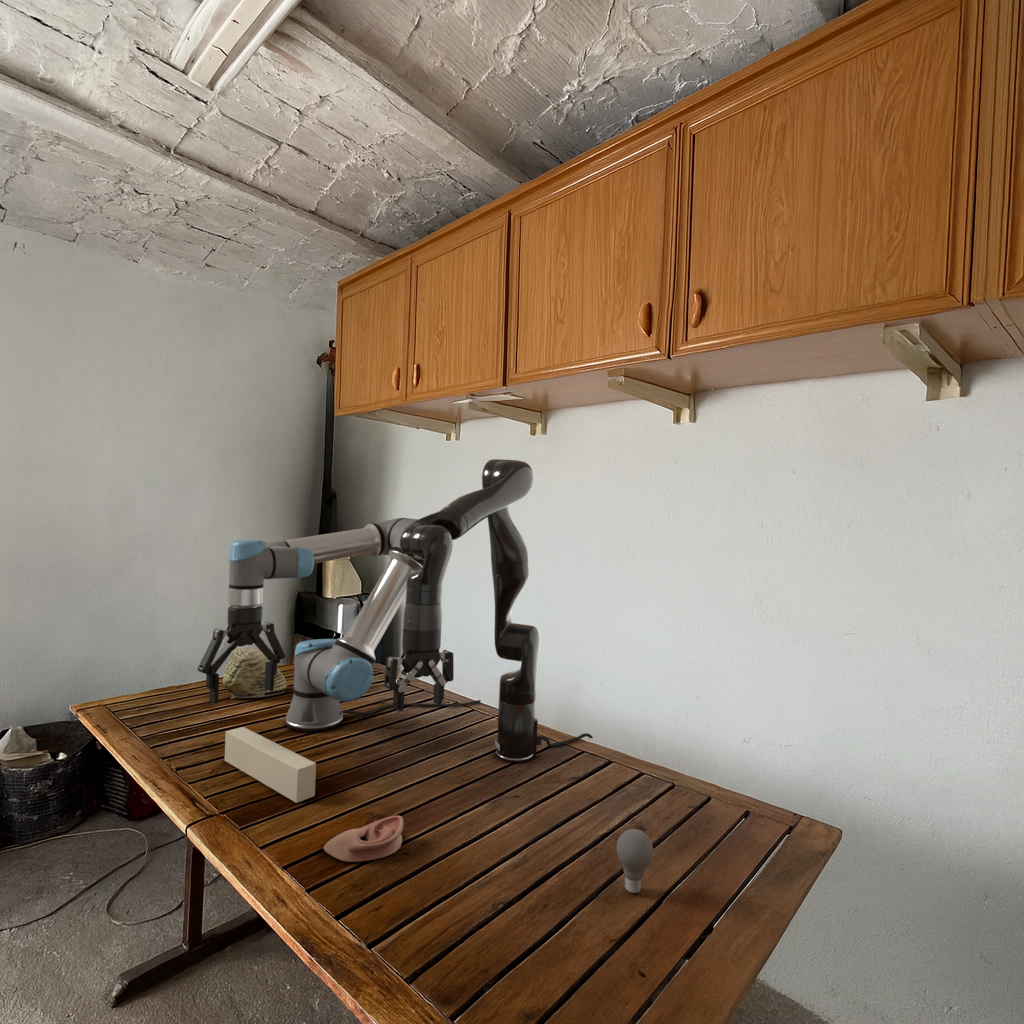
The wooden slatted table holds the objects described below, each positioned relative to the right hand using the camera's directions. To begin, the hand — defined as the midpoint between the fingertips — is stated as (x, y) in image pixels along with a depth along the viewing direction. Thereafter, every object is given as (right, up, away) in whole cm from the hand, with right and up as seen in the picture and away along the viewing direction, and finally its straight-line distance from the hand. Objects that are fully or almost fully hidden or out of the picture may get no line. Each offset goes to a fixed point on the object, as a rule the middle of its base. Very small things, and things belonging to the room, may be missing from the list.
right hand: (418, 706), depth 125 cm
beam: (-36, -21, +16) cm, 45 cm away
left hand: (-45, -5, +24) cm, 51 cm away
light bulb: (+39, -25, -20) cm, 50 cm away
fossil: (-62, -19, +73) cm, 98 cm away
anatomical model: (-9, -23, -10) cm, 26 cm away
